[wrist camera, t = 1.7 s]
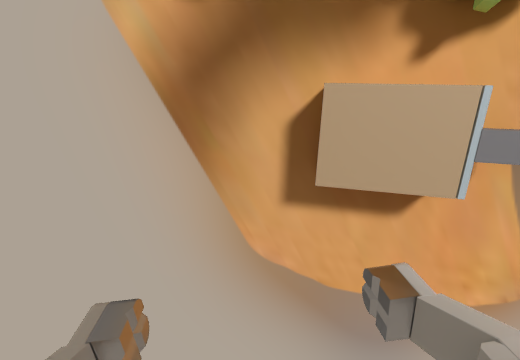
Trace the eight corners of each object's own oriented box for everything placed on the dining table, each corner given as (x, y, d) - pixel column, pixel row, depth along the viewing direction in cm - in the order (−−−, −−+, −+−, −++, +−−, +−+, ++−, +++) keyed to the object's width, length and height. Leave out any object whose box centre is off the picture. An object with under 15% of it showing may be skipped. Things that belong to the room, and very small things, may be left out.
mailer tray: (520, 90, 37) (567, 86, 29) (493, 188, 40) (528, 205, 33) (331, 87, 42) (332, 83, 35) (322, 174, 46) (322, 186, 39)
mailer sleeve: (452, 89, 39) (482, 85, 31) (432, 182, 43) (455, 198, 35) (324, 87, 42) (324, 83, 35) (316, 172, 46) (315, 185, 39)
